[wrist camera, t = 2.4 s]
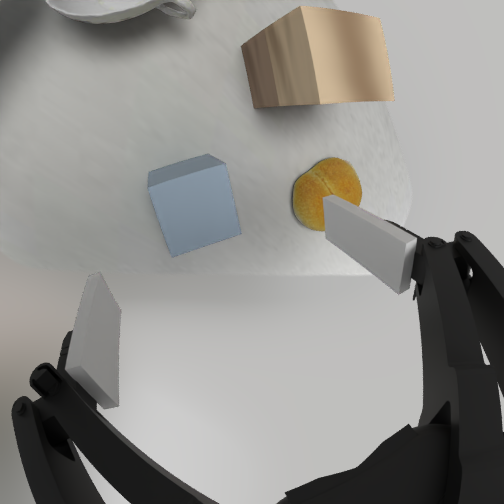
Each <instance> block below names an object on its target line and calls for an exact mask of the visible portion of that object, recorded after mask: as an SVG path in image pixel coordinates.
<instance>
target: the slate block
mask: <svg viewBox="0 0 504 504" xmlns="http://www.w3.org/2000/svg"><path fill="white" fill-rule="evenodd" d="M148 191H149V194H150V197H151V200H152V203H153V206H154V209H155V212H156V215H157V218H158V221H159V224H160V226H161V229H162V232H163V235H164V238H165V240H166V243H167V246H168V249H169V251H170V254H171V257H175V256H178V255H181V254H184V253H187V252H190V251H192V250H195V249H198V248H201V247H204V246H207V245H210V244H213V243H216V242H219V241H222V240H225V239H228V238H231V237H234V236H237V235H240V234H242V233H241V229H240V224H239V220H238V216H237V211H236V207H235V202H234V198H233V193H232V189H231V185H230V180H229V176H228V171H227V167H226V163H224V162H222V161H220V160H219V159H217V158H215V157H213V156H211V155H210V154H205V155H202V156H198V157H195V158H191V159H188V160H185V161H181V162H178V163H175V164H172V165H169V166H165V167H162V168H159V169H156V170H153V171H150V172H149V177H148Z"/></svg>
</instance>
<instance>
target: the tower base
mask: <svg viewBox="0 0 504 504" xmlns="http://www.w3.org/2000/svg"><path fill="white" fill-rule="evenodd" d="M241 48H242V53H243V57H244V62H245V67H246V71H247V76H248V81H249V86H250V91H251V96H252V101H253V106H254V108H264V107H275V106H279V101H278V95H277V90H276V85H275V79H274V74H273V69H272V64H271V60H270V55H269V50H268V45H267V41H266V36H265V32H264V29H263V30H262V31H261V32H259V33H258V34H256V35H255V36H254V37H252V38H251V39H250V40H248V41H247V42H246V43H244V44H243V45H242V46H241Z"/></svg>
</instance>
